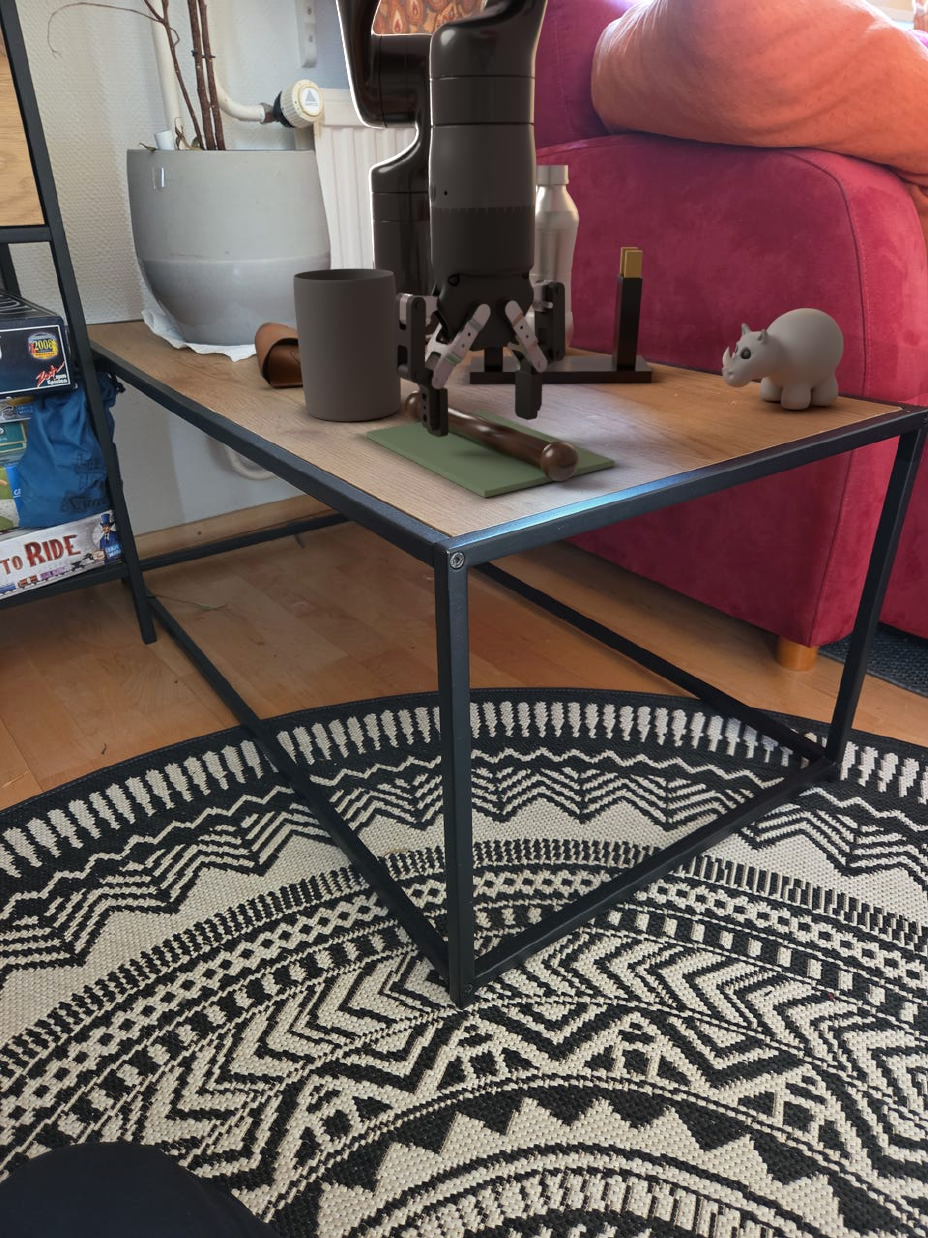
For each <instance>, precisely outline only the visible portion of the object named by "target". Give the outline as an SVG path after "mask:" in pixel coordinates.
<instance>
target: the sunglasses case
mask: <svg viewBox="0 0 928 1238" xmlns="http://www.w3.org/2000/svg"><path fill="white" fill-rule="evenodd" d="M254 349H255V352H256V353H255V354H256V359H257V363H258V368H259V372H260V376H261V378H263V380H265V382H266V383H267V384H268V385H270V387H272V388H278V387H283V388H290V387H291V388H297V387H303V380H302V372H301V363H300V353H299V344H298V334H297V329H295V328H294V327H293V328H292V327H291V326H288V325H286V324H282V323H278V322H275V321H273V322H272V321H268V322H265V323H263V324H261V325H260V326H259V328H258V329H257V331H256V332H255V335H254Z"/></svg>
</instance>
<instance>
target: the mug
mask: <svg viewBox="0 0 928 1238" xmlns="http://www.w3.org/2000/svg"><path fill="white" fill-rule="evenodd" d="M292 283H293V299H294V310H295V322H296V330H297V334H298V344H299V353H300V363H301V372H302V380H303V386H302V387H303V395H304V402H305V406H306V411H307V413H308V415H310V416H311V417H314V418H317V419H319V420H325V421H331V422H332V421H334V422H361V421H370V420H377V419H381V418H386V417H388V416H391V415H393V414H396V413H397V412H398V411H399V410H400V407H401V402H402V381H401V380H402V378H400V377H398V376H397V375H396V374H395V370H394V368H395V298H396V285H395V277H394V273H393V272H391V271H387V270H380V269H373V268H330V269H317V270H309V271H303V272H299V273H296V274H294V275H293V280H292Z"/></svg>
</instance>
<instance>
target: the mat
mask: <svg viewBox="0 0 928 1238" xmlns="http://www.w3.org/2000/svg"><path fill="white" fill-rule="evenodd" d="M470 413H472V414H475V415H478V416H481V417H483V418H486V419H489V420H491V421H494V422H497V423H499V424H502V425H505V426H508V427H510V428H513V429H516V430H518V431H521V432H524V433H526V434H529V435H532V436H535V437H537V438H540V439H543V440H545V441H548V442H551V443H552V442H555V441H564V440H562V439H559V438H557V437H555V436H551V435H549V434H545V433H543V432H541V431H538V430H536V429H533V428H530V427H528V426H525V425H522V424H520V423H517V422H515V421H511V420H509V419H506V418H504V417H501V416H499V415H497V414H494V413H490V412H488V411H486V410H477V411H471V412H470ZM365 436H366V438H367V439H369V440H371V441H373V442H375V443H376V444H379V445H381V446H383V447H385V448H386V449H388V450H390V451H392V452H394V453H396V454H398V455H400V456H402V457H404V458H406V459H407V460H410V461H411V462H414V463H416V464H418V465H419V466H421V467H424V468H425V469H428V470H429V471H431V472H433V473H435V474H437V475H440V476H442V477H443V478H445V479H447V480H449V481H451V482H453V483H455V484H457V485H459V486H461V487H462V488H464V489H466V490H469V491H470V492H473V493H474V494H476V495H478V496H480V497H482V498H483V499H487V498H490V497H493V496H497V495H502V494H506V493H512V492H515V491H519V490H522V489H526V488H531V487H535V486H538V485H543V484H547V483H551V482H556V480H552V479H550V478H548V477H547V476H546V475H545V474H544V473H543V471H542V470H541V469H540V468H538V467H536V466H533V465H531V464H528V463H526V462H523V461H521V460H519V459H516V458H514V457H511V456H509V455H507V454H504V453H502V452H499V451H497V450H494V449H492V448H490V447H487V446H485V445H482V444H480V443H477V442H475V441H473V440H470V439H468V438H465V437H463V436H460V435H458V434H456V433H453V432H451V431H449V433H448V435H447V436H444V437H436V436H434V435H432V434H429V433H428V431H427V428H425V427H423V425H422V423H421V422H412V423H406V424H400V425H396V426H390V427H385V428H379V429H375V430H369V431H366V432H365ZM564 442H566V441H564ZM568 443H569V444H571V445H572V446H573V447H574V448H575V449H576V451H577V453H578V456H579V465H578V468H577V470H576V472H575V473H574V474H573V475H572V476H571V477H570V478H572V477H576V476H580V475H584V474H588V473H592V472H596V471H600V470H604V469H608V468H612V467H615V459H612V458H609V457H607V456H603V455H602V454H599V453H596V452H594V451H591V450H588V449H586V448H582V447H580V446H577V445H575V444H572V443H570V442H568Z"/></svg>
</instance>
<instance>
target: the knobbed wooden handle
mask: <svg viewBox="0 0 928 1238" xmlns="http://www.w3.org/2000/svg"><path fill="white" fill-rule="evenodd" d="M420 409H421V408H420V389H419V390H415V391H413V392H411V393H410V394H409V395H408V396H407V397H406V400H405V402H404V411H405V414H406V415H407V417H408V418H409V419H410V420H411V421H413V422H414V423H417V422H421V413H420ZM448 427H449V431H451V432H453V433H456V434H458V435H460V436H463V437H465V438H468V439H470V440H473V441H475V442H477V443H480V444H482V445H485V446H487V447H490V448H492V449H494V450H497V451H499V452H502V453H504V454H507V455H509V456H511V457H514V458H516V459H519V460H521V461H523V462H526V463H528V464H531V465H533V466H536V467H538V468H540V469H541V470H542V471H543V473H544V474H545V475H546V476H547V477H548V478H550V479H552V480H556V481H559V482H560V481H561V482H562V481H565V480H568V479H570V478H572V477H573V476H572V475H573V474H574V473H575V472H576V470H577V468H578V465H579V456H578V453H577V451H576V449H575V448H574V447H573V446H572V445H573V444H572V443H570V442H567V441H565V442H564V440H562V441H555V442H552V443H551V442H548V441H545V440H543V439H540V438H537V437H535V436H532V435H529V434H526V433H524V432H521V431H518V430H516V429H513V428H510V427H508V426H505V425H502V424H499V423H497V422H494V421H491V420H489V419H486V418H483V417H481V416H478V415H475V414H472V413H471V412H469V411H467V410H464V409H461V408H459V407H456V406H453V405H450V404H448ZM569 443H570V444H569ZM571 444H572V445H571ZM571 476H572V477H571ZM556 481H555V482H556Z"/></svg>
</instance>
